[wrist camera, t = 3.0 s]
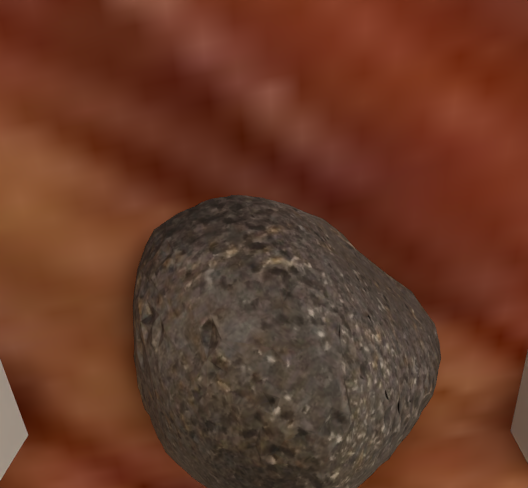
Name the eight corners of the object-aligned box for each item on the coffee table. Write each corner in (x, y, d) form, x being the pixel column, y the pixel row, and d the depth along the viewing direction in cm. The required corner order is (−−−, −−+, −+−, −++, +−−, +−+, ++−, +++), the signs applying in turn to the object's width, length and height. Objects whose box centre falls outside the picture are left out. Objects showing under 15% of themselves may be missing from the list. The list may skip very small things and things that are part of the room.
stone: (343, 358, 22) (571, 376, 13) (211, 520, 18) (413, 698, 9) (211, 180, 20) (375, 67, 11) (30, 317, 16) (72, 302, 7)
